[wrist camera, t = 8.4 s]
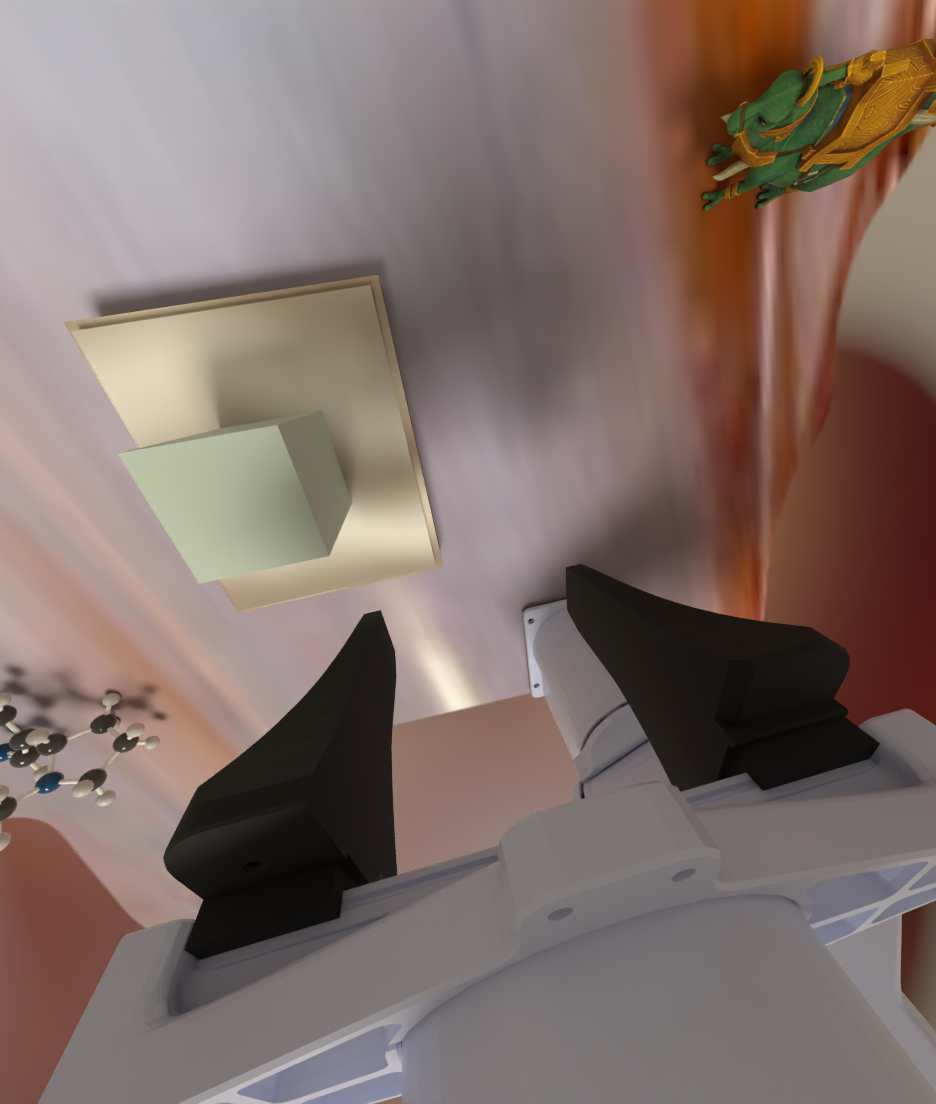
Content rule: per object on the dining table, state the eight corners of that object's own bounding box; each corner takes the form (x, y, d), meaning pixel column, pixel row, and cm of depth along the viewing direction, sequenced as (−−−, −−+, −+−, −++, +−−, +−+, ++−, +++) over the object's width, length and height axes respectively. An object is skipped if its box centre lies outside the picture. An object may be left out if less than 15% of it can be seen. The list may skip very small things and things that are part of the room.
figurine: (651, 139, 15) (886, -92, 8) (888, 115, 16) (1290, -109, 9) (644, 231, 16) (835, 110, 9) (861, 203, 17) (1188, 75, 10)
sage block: (352, 502, 17) (329, 555, 12) (263, 520, 17) (199, 583, 11) (321, 410, 15) (277, 425, 10) (220, 428, 15) (117, 453, 9)
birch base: (440, 552, 22) (444, 571, 20) (252, 593, 21) (234, 618, 19) (381, 287, 15) (377, 270, 13) (105, 329, 15) (51, 320, 12)
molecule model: (-19, 638, 22) (-234, 778, 16) (141, 691, 20) (-28, 862, 15) (52, 682, 26) (-98, 805, 20) (188, 728, 25) (70, 872, 19)
